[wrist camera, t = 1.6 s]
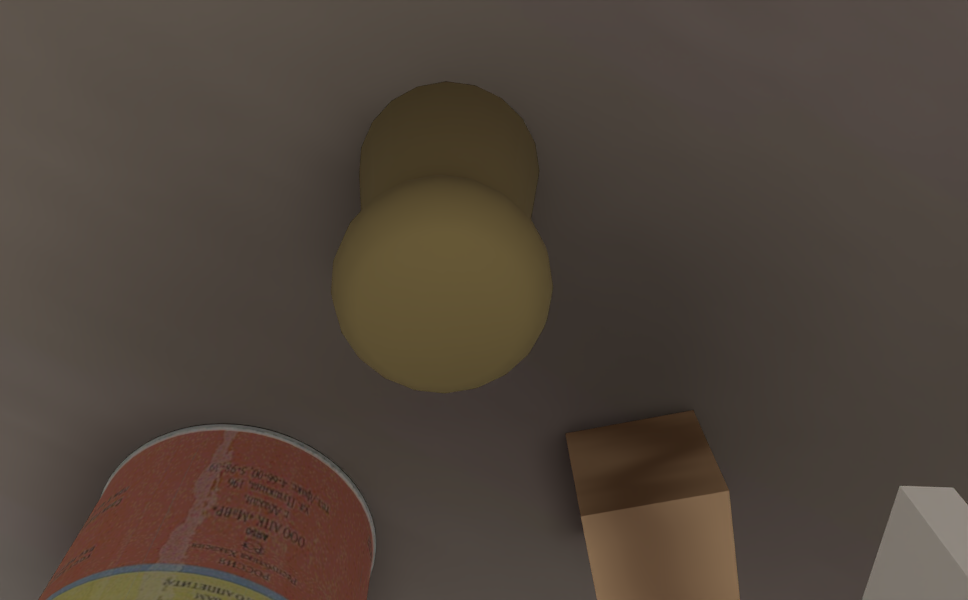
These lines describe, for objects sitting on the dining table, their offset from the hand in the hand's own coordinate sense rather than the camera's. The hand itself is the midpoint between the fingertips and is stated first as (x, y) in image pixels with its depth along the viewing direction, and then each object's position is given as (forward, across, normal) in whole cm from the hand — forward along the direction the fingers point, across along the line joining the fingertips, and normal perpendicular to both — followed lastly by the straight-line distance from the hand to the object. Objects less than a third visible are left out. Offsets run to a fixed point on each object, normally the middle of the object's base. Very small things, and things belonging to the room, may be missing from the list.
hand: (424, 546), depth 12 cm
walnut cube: (+18, -8, +12) cm, 24 cm away
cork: (+18, 0, 0) cm, 19 cm away
